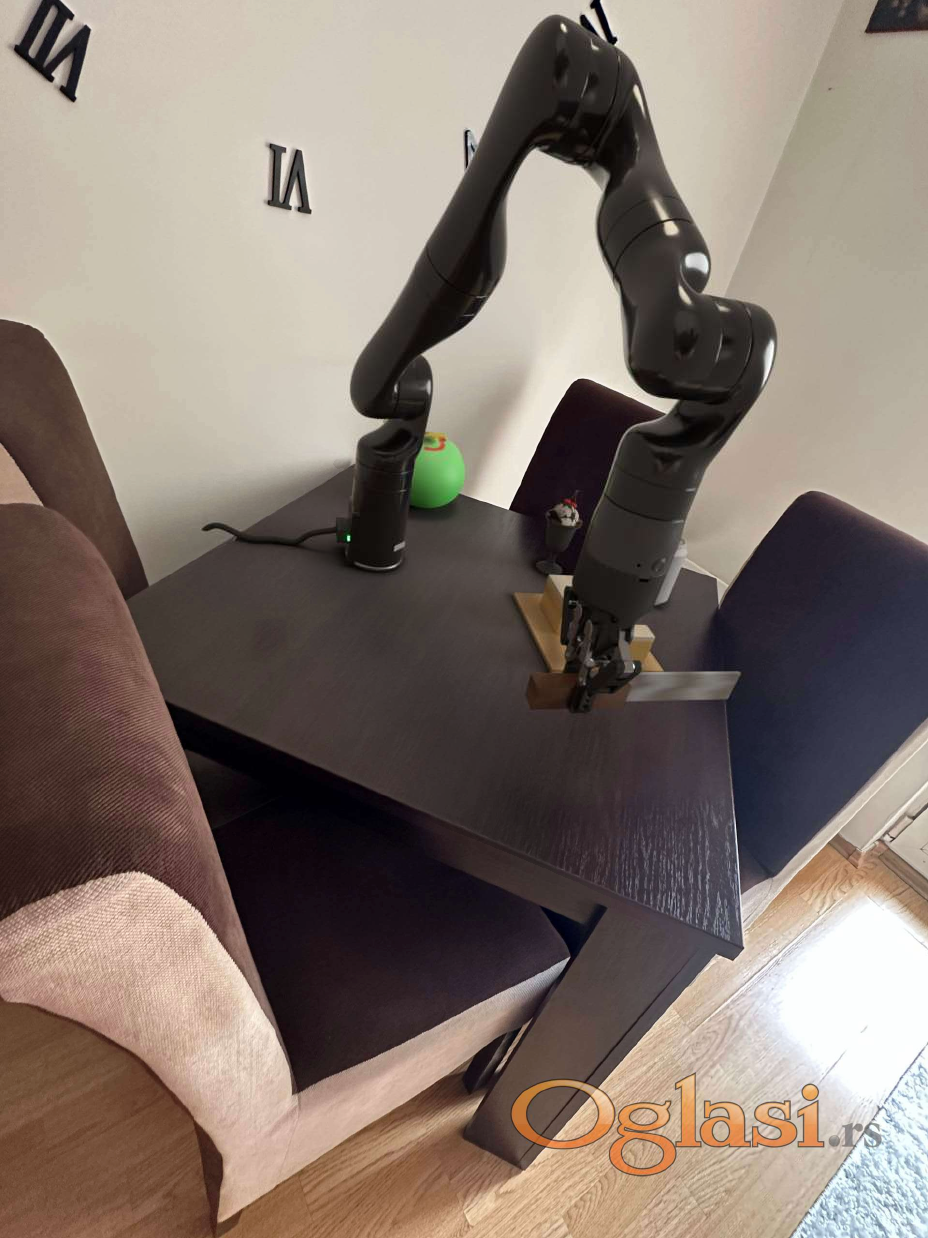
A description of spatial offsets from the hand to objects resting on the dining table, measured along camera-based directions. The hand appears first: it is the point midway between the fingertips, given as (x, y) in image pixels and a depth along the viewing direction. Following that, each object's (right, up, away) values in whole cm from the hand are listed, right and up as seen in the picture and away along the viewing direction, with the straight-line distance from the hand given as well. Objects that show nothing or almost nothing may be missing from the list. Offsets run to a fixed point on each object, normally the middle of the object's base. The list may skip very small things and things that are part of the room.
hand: (572, 701), depth 65 cm
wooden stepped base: (+8, +6, +37) cm, 38 cm away
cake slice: (+10, +2, +30) cm, 32 cm away
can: (+22, +12, +52) cm, 57 cm away
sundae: (+5, +17, +53) cm, 56 cm away
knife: (+6, 0, +2) cm, 7 cm away
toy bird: (-20, +32, +67) cm, 77 cm away
